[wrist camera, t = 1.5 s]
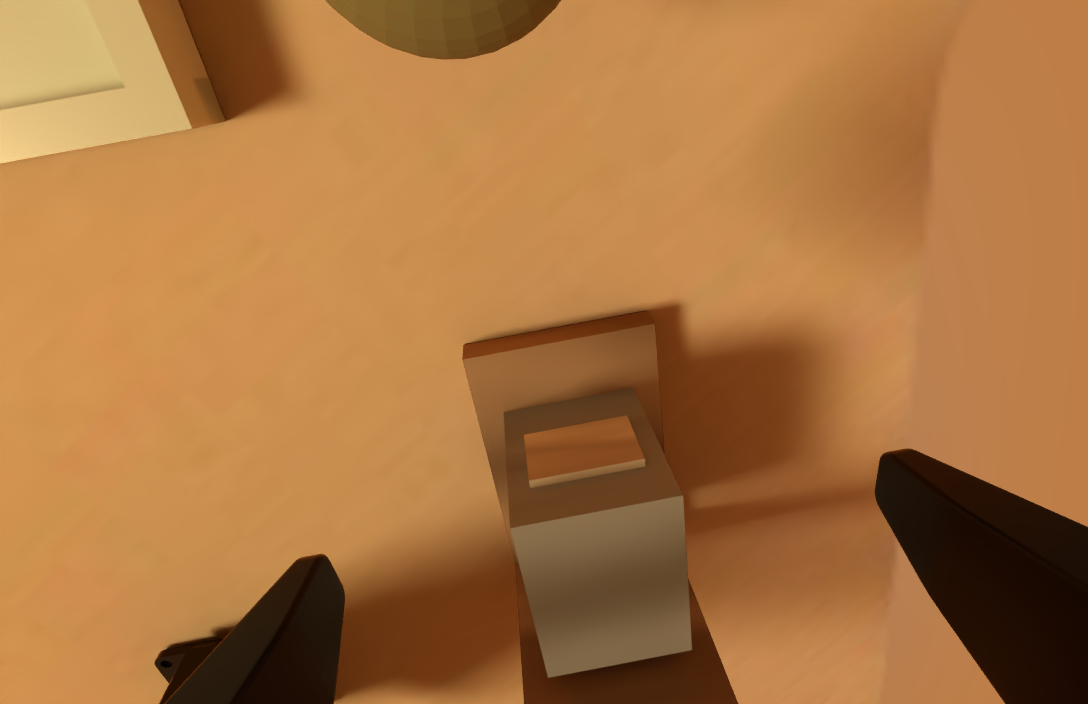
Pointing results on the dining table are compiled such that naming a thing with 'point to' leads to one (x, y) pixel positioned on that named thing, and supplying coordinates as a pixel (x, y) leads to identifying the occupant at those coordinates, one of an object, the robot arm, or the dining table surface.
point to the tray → (97, 75)
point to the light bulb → (445, 23)
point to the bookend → (593, 516)
